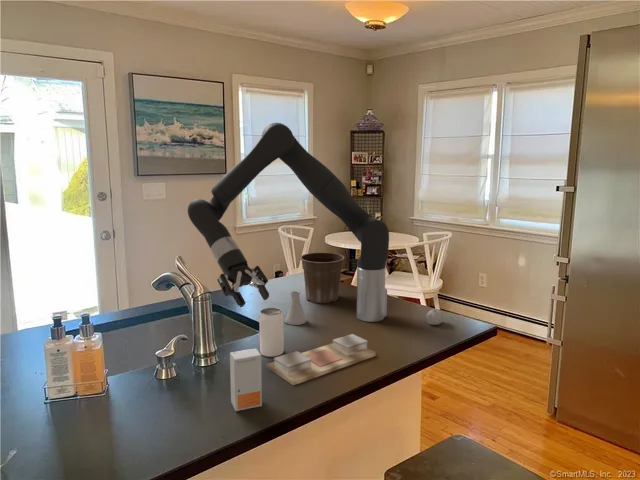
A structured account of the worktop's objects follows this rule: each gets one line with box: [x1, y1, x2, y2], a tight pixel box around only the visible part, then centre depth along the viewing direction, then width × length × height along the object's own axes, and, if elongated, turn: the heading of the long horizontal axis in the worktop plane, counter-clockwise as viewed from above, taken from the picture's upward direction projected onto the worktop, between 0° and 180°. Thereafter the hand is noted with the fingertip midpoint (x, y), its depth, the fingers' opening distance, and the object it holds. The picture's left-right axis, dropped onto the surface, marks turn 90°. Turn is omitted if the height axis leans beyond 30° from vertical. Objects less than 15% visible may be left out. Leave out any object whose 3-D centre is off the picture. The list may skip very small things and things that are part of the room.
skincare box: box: [229, 348, 263, 412], centre depth 104 cm, size 6×4×12 cm
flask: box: [283, 290, 307, 326], centre depth 155 cm, size 7×7×10 cm
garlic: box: [425, 308, 444, 326], centre depth 153 cm, size 6×5×5 cm
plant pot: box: [300, 251, 345, 304], centre depth 178 cm, size 16×16×16 cm
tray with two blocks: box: [266, 333, 377, 386], centre depth 126 cm, size 27×12×4 cm, turn 128°
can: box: [258, 307, 285, 358], centre depth 131 cm, size 6×6×12 cm
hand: (255, 301), depth 134 cm, fingers open, 8 cm apart
